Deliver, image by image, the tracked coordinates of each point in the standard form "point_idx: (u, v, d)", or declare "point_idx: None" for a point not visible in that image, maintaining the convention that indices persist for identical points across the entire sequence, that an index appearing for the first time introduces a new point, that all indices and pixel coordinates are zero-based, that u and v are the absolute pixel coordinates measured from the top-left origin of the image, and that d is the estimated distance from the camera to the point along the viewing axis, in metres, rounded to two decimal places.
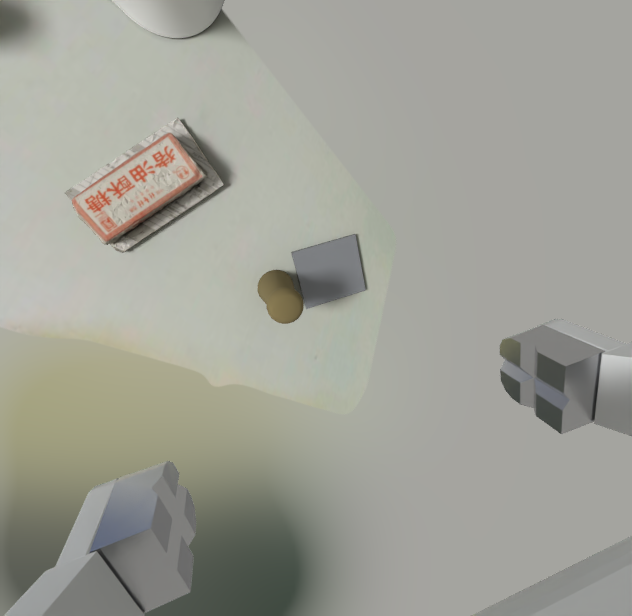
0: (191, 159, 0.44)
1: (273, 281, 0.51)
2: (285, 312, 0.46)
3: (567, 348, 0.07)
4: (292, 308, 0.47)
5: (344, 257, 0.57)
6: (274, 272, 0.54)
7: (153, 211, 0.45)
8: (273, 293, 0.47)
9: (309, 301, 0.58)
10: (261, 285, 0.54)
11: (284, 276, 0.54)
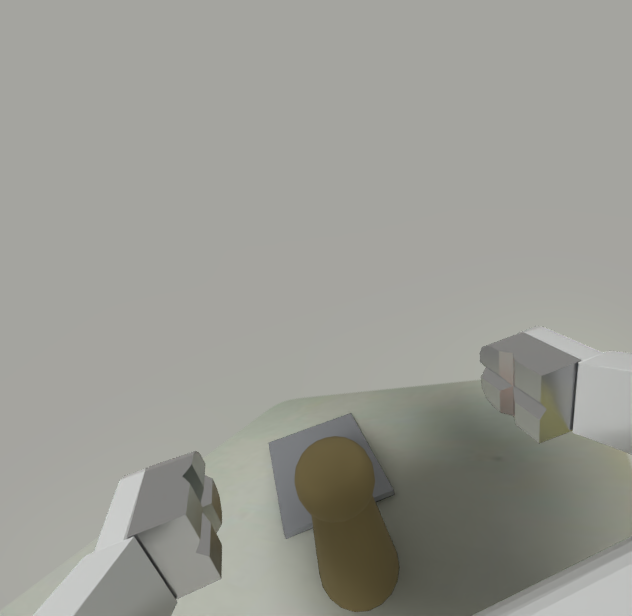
0: None
1: (316, 543, 0.23)
2: (335, 459, 0.21)
3: (544, 356, 0.07)
4: (327, 448, 0.22)
5: (299, 449, 0.36)
6: (318, 565, 0.25)
7: None
8: (303, 500, 0.21)
9: (377, 487, 0.30)
10: (342, 589, 0.23)
11: None
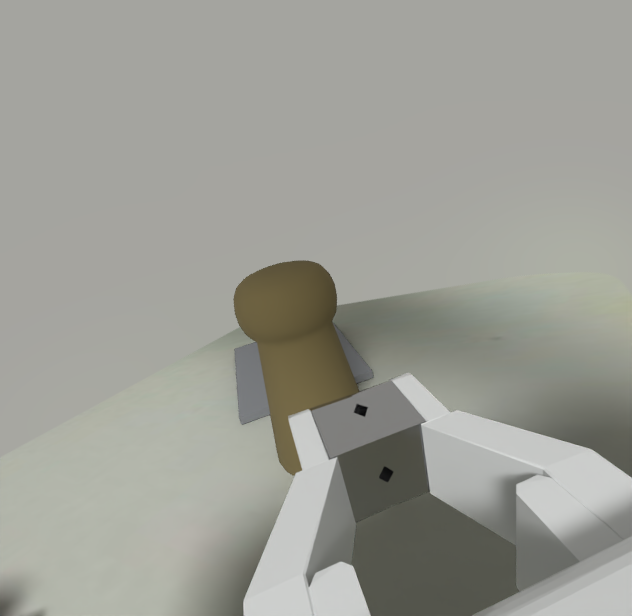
0: None
1: (267, 396, 0.18)
2: (284, 267, 0.16)
3: (394, 413, 0.07)
4: (276, 264, 0.17)
5: None
6: (274, 437, 0.20)
7: None
8: (241, 316, 0.16)
9: (354, 370, 0.26)
10: None
11: None
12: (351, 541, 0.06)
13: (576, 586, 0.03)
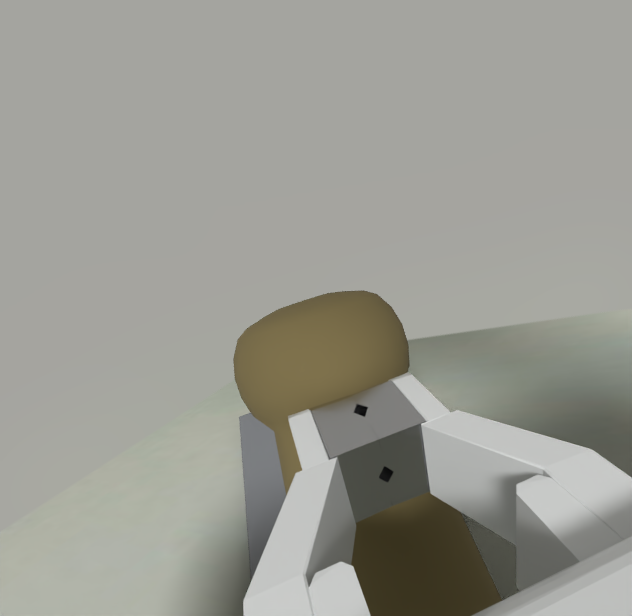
0: None
1: None
2: None
3: (394, 413, 0.07)
4: None
5: None
6: None
7: None
8: (241, 376, 0.09)
9: None
10: None
11: None
12: (351, 541, 0.06)
13: (576, 586, 0.03)
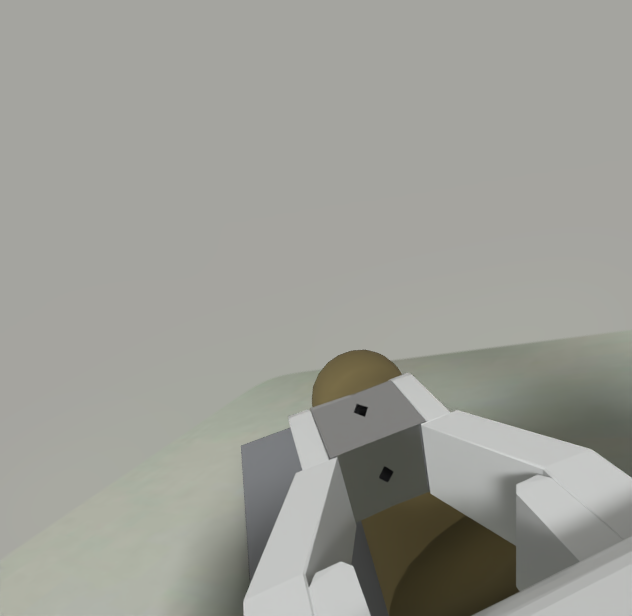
0: None
1: None
2: None
3: (394, 413, 0.07)
4: None
5: (298, 458, 0.19)
6: (394, 528, 0.10)
7: None
8: (340, 359, 0.18)
9: None
10: None
11: (364, 519, 0.12)
12: (351, 541, 0.06)
13: (576, 586, 0.03)
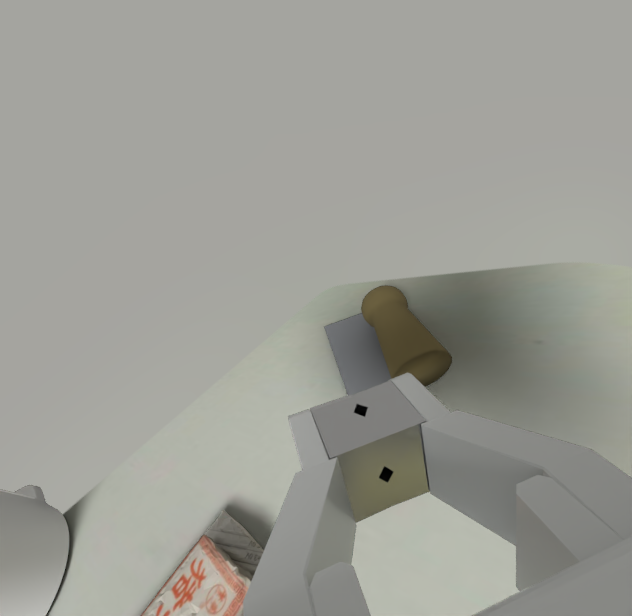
0: (229, 564, 0.25)
1: (390, 328, 0.34)
2: None
3: (394, 413, 0.07)
4: None
5: (354, 333, 0.41)
6: (396, 358, 0.32)
7: None
8: (376, 292, 0.37)
9: None
10: (419, 337, 0.32)
11: (385, 356, 0.34)
12: (351, 541, 0.06)
13: (576, 586, 0.03)
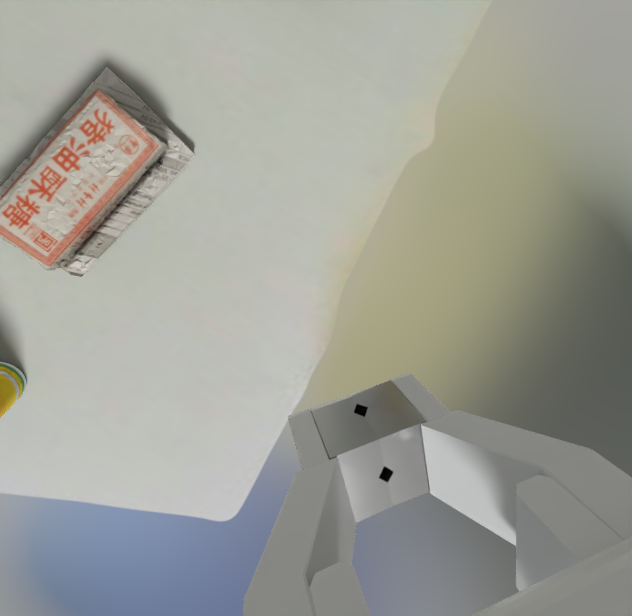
0: (136, 122, 0.30)
1: None
2: None
3: (394, 413, 0.07)
4: None
5: None
6: None
7: (103, 210, 0.32)
8: None
9: None
10: None
11: None
12: (351, 541, 0.06)
13: (576, 586, 0.03)
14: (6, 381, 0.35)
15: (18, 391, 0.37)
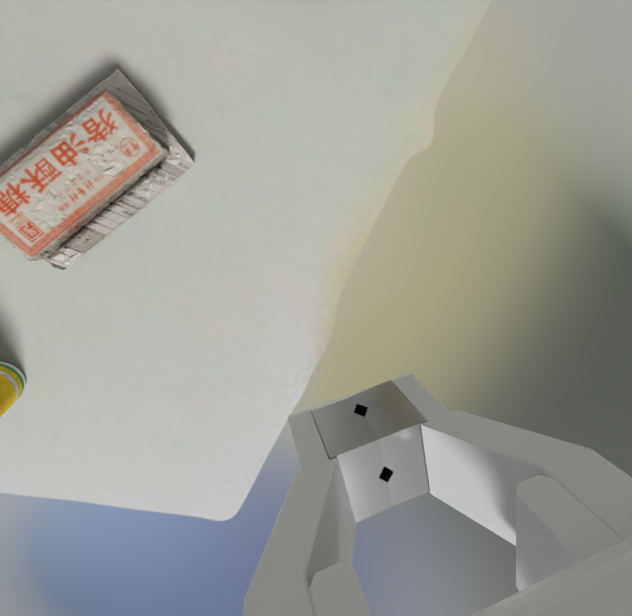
0: (140, 126, 0.30)
1: None
2: None
3: (394, 413, 0.07)
4: None
5: None
6: None
7: (95, 208, 0.31)
8: None
9: None
10: None
11: None
12: (351, 541, 0.06)
13: (576, 586, 0.03)
14: (6, 381, 0.35)
15: (18, 390, 0.37)
